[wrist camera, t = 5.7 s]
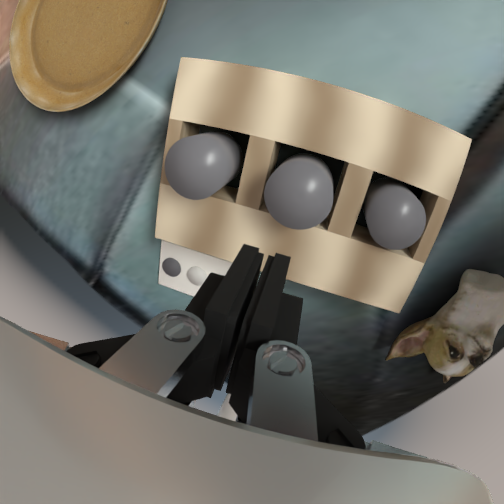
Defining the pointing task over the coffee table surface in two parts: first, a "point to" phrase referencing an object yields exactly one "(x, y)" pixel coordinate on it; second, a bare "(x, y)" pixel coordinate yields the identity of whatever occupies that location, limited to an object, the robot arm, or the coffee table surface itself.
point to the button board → (321, 141)
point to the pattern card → (187, 267)
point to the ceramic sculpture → (458, 327)
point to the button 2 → (393, 214)
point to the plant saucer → (77, 47)
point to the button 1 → (203, 164)
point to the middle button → (300, 192)
